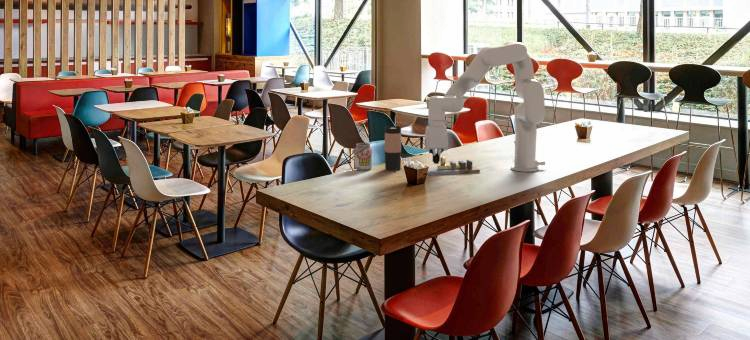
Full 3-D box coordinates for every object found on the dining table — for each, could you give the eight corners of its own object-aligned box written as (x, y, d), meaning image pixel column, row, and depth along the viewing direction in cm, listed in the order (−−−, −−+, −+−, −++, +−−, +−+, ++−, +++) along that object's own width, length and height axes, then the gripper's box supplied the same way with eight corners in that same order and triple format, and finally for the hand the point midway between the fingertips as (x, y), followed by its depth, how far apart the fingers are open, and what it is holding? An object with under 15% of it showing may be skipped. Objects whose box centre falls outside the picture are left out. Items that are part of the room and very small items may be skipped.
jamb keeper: (458, 173, 310) (459, 163, 309) (452, 170, 319) (452, 159, 318) (479, 172, 312) (480, 162, 311) (473, 169, 321) (473, 158, 320)
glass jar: (354, 171, 317) (353, 146, 315) (351, 167, 325) (350, 143, 323) (373, 170, 319) (373, 145, 316) (370, 167, 327) (369, 142, 324)
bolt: (438, 169, 311) (438, 158, 310) (436, 168, 314) (437, 157, 313) (463, 168, 314) (463, 157, 313) (461, 167, 316) (462, 156, 315)
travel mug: (381, 169, 322) (381, 127, 317) (394, 167, 326) (394, 125, 322) (391, 171, 316) (391, 129, 312) (404, 169, 320) (404, 127, 316)
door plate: (429, 175, 308) (429, 165, 307) (423, 171, 316) (424, 161, 315) (458, 173, 310) (459, 163, 309) (452, 170, 319) (452, 160, 318)
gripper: (449, 121, 313) (449, 161, 317) (418, 123, 310) (418, 162, 314) (455, 124, 306) (454, 164, 310) (422, 125, 303) (422, 165, 307)
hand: (436, 163), depth 312 cm, fingers closed
